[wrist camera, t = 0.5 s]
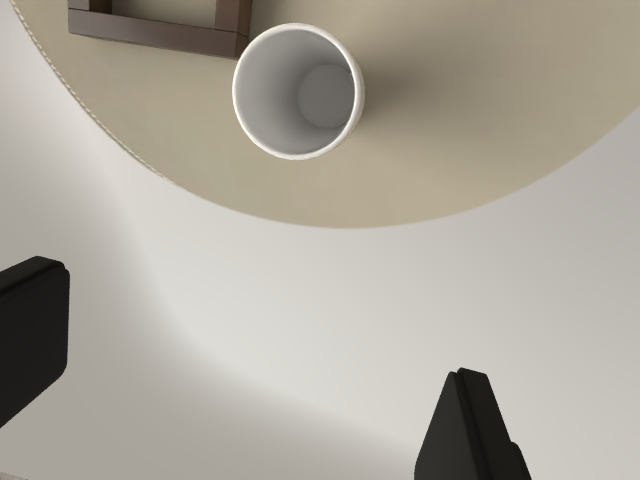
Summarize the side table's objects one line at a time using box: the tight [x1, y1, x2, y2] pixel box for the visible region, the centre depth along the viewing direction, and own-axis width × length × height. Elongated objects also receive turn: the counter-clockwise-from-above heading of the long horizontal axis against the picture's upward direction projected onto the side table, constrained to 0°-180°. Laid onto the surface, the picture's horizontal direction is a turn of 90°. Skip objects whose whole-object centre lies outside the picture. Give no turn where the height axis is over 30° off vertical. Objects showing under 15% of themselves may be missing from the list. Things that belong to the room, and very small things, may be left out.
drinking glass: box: [232, 23, 365, 160], centre depth 30 cm, size 7×7×15 cm
